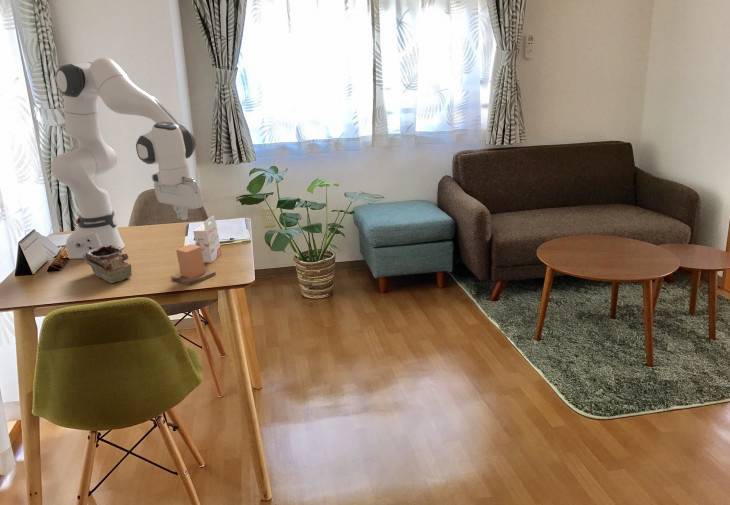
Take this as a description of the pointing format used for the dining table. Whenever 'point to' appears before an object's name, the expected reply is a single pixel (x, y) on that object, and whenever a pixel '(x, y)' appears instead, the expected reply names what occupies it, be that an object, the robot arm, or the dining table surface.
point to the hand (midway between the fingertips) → (183, 218)
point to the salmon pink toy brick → (190, 261)
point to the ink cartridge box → (208, 240)
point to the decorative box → (109, 263)
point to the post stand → (193, 280)
